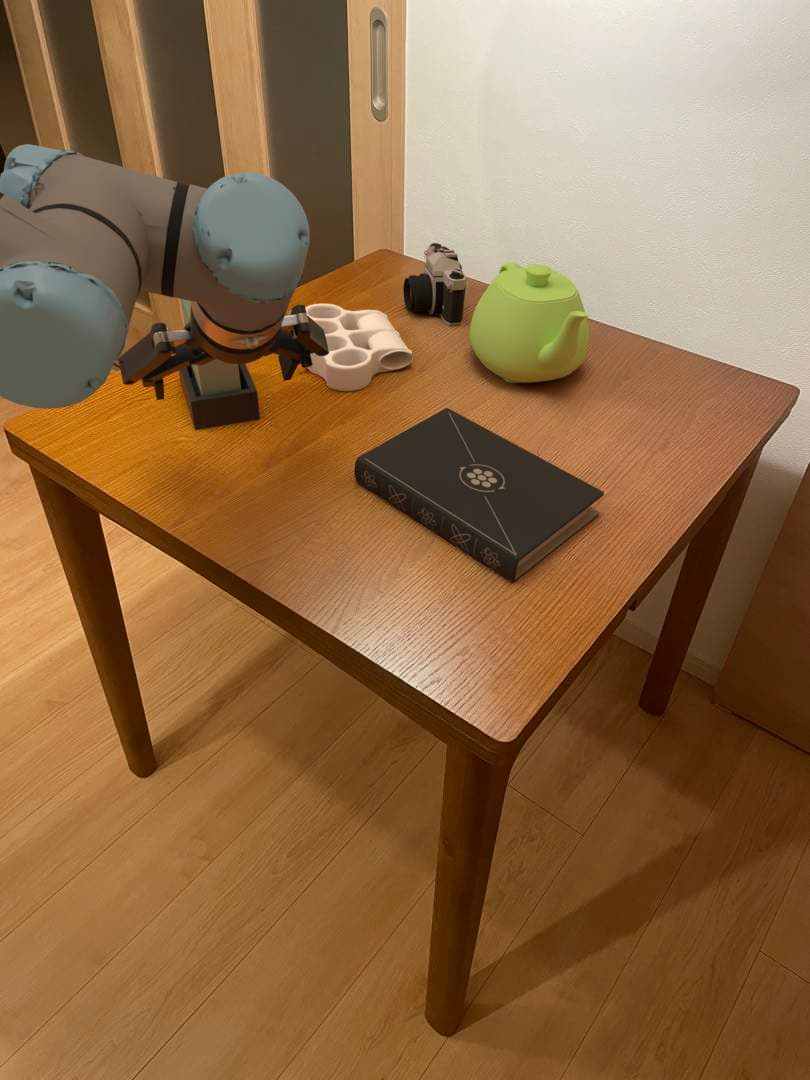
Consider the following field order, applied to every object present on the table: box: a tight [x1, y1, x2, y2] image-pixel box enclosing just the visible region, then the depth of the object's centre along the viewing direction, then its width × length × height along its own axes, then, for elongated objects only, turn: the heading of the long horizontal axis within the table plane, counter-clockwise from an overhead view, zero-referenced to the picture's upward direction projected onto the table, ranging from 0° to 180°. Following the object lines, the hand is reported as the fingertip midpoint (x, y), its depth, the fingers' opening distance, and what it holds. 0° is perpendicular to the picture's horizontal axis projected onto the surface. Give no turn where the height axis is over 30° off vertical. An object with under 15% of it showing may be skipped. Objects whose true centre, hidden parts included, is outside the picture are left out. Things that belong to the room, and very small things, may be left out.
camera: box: [403, 242, 468, 327], centre depth 115 cm, size 13×8×9 cm, turn 17°
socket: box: [178, 363, 261, 430], centre depth 96 cm, size 8×11×4 cm
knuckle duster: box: [305, 303, 414, 392], centre depth 105 cm, size 3×18×15 cm
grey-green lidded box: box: [179, 298, 241, 396], centre depth 93 cm, size 5×8×12 cm, turn 21°
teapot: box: [468, 262, 590, 384], centre depth 101 cm, size 22×15×13 cm
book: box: [353, 407, 605, 583], centre depth 84 cm, size 22×15×3 cm
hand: (222, 377), depth 86 cm, fingers open, 13 cm apart
